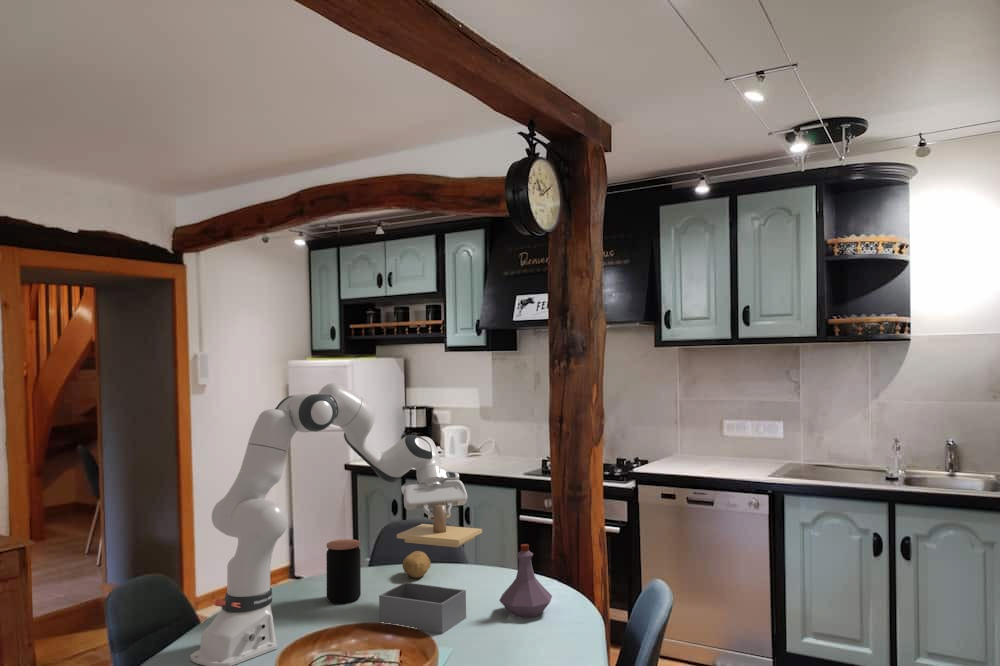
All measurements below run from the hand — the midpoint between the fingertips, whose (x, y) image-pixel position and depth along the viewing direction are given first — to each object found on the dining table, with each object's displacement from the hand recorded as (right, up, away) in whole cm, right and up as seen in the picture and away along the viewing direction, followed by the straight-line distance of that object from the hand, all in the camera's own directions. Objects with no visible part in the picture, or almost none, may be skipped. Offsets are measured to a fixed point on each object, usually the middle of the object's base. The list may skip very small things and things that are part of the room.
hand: (439, 517), depth 225 cm
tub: (-4, -27, -14) cm, 30 cm away
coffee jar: (-31, -28, +7) cm, 43 cm away
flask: (+27, -27, -9) cm, 38 cm away
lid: (0, -7, 0) cm, 7 cm away
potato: (-11, -29, +31) cm, 44 cm away
